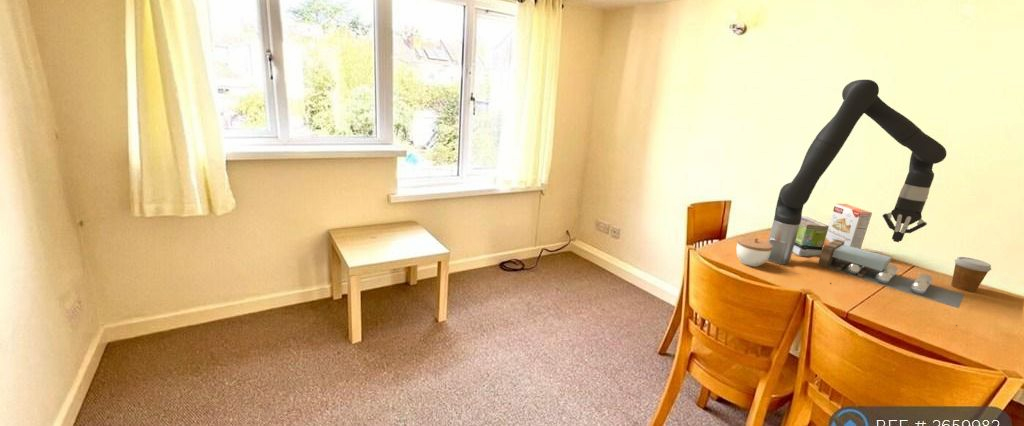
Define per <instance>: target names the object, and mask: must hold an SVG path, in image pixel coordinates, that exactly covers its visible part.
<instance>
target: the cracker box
mask: <svg viewBox="0 0 1024 426" xmlns="http://www.w3.org/2000/svg"><path fill="white" fill-rule="evenodd" d="M872 214H873V212H871V211H867V210H865V209H862V208H860V207H857V206H853V205H850V204H847V203H835V204H834V207H833V210H832V214H831V217H830V220H829V224H828V226H829V228H828V232H827V235H826V238H825V241H824V245H823V246H826V245H827V244H829V243H831V242H833V241H834V240H836V239H837V240H841V241H845V242H844V245H847V246H851V247H854V248H858V249H861V248H862V246H863V243H864V241H865V236H866V234H867V230H868V227H869V224H870V221H871V218H872Z"/></svg>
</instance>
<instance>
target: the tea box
mask: <svg viewBox="0 0 1024 426" xmlns="http://www.w3.org/2000/svg"><path fill="white" fill-rule="evenodd" d="M828 228H829V225H827V224H825V223H822V222H820V221H818V220H816V219H813V218H810V217H808V216H802V217H801V222H800V226H799V229H798V233H797V237H796V240H795V244H794V248H793V251H792V254H793V253H794V254H795V255H797V256H799V257H807V258H808V257H810V258H812V257H814V256H819V257H820V256H821V252H822V249H823V247H824V246H825V245H824V241H825V238H826V235H827V232H828Z"/></svg>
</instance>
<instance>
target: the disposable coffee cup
mask: <svg viewBox="0 0 1024 426" xmlns="http://www.w3.org/2000/svg"><path fill="white" fill-rule="evenodd" d="M954 262H955V263H954V264H955V265H954V269H953V274H952V279H951V285H950V286H951V287H953V288H954V289H957V290H960V291H963V292H967V293H968V292H969V293H975V292H976V291H977V290H978V288H979V286H980V285H981V284H982V282H983V280H984V279H985V277H986V276H987V274H988V273H989V272H990V271H991V270H992V265H991V263H989V262H986V261H984V260H980V259H976V258H972V257H965V256H958V257H957V258H956V259H954Z"/></svg>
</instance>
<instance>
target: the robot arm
mask: <svg viewBox="0 0 1024 426" xmlns="http://www.w3.org/2000/svg"><path fill="white" fill-rule="evenodd" d="M879 91H880V88H879V85H878V83H877V82H875V81H874V80H872V79H857V80H853V81H851V82H849V83H847V84H846V85H845V86H844V88H843V89H842V92H841V95H842V99H843V101H842V103H841V105H840V107H839V109H838V110H837V111H836V113H835V115H834V116H833V117H832V118H831V119H830V120H829V121H828V122H827V123H826V124H825V126H824V127H822V129H820V131H819V132H818V134H817V135H816V136H815V138H814V140H812V142H811V144H810V146H809V147H808V149H807V151H806V153H805V156H804V158H803V161H802V163H801V166H800V169H799V171H798V172H797V174H796V175H795V176H794V178H793V180H792V181H791V182H788V183H786V184H784V185H783V186H782V187H781V188H780V191H779V194H778V198H777V201H776V205H775V210H774V211H775V212H774V216H773V221H772V226H771V230H770V233H769V237H768V240H767V242H768V243H770V244H772V246H773V248H772V251H771V254H770V256H769V258H768V260H767V261H768V262H772V263H773V264H774V263H775V264H778V265H789V264H790V262H791V258H792V254H793V252H792V251H793V248H794V244H795V240H796V237H797V233H798V229H799V226H800V222H801V217H802V214H803V209H804V205H805V204H807V202H808V200H809V199H810V197H811V194H812V193H813V191H814V189H815V187H816V185H817V183H818V182H819V180H820V179H821V177H822V176H823V175H824V173H825V172H826V171H827V170H828V168H829V167H830V165H831V164H832V163H833V161H834V160H835V159H836V157H837V155H838V154H839V152H840V151H841V150H842V148H843V146H844V145H845V143H846V141H847V140H848V138H849V137H850V135H851V133H852V131H853V130H854V128H855V126H856V125H857V123H858V121H859V120H860V119H861V117H863V115H864V114H865V115H866V116H867V117H868V118H870V119H871V120H873V122H875V123H876V124H878V126H880V128H882V130H884V132H886V133H887V134H888V135H889V136H890V137H891V138H893V139H894V140H895V141H896V142H897V143H898V144H899V145H901V146H903V147H905V148H907V149H908V150H910V151H911V154H910V158H909V165H908V173H907V175H906V178H905V181H904V184H903V186H902V187H901V189H900V192H899V195H898V198H897V200H896V203H895V206H894V208H893V209H892V210H891V212H888V213H887V212H885V213H884V214H882V218H883V219H884V221H885V223H886V225H887V227H888V228H889V229H890V230H892V231H893V234H892V237H891V240H893V242H894V243H895V242H896V243H899V242H901V241H903V240H904V236H905V234H911V233H914V232H915V231H917V230H920V229H922V228H923V227H925V226H927V225H928V222H926V221H924V219H923V218H922V213H923V210H924V208H925V207H924V206H925V205H926V202H927V200H928V197H929V193H930V189H931V186H932V183H933V181H934V178H935V173H934V172H933V171H934V170H933V166H934V165H935V164H938V163H941V162H943V161H944V160H945V159H946V157H947V150H946V148H945V147H944V145H942V143H940V142H938V141H937V140H936V139H935V138H932V137H931V135H928V134H927V133H925V132H924V131H923V130H922V129H921V128H919V127H918V126H917V125H916V124H915V123H914V122H913V121H912V120H911V119H909V118H907V117H906V116H905V115H903V114H901V113H900V112H899V111H897V110H895V109H894V108H892V106H890V105H888V104H887V103H885V102H884V101H883V100H882V99H881V98H880V97H879ZM892 218H893V219H894V221H895V224H894V222H893V221H892ZM916 222H917V223H916ZM915 223H916V225H915V226H913V227H910V228H909V226H910V225H913V224H915Z"/></svg>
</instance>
